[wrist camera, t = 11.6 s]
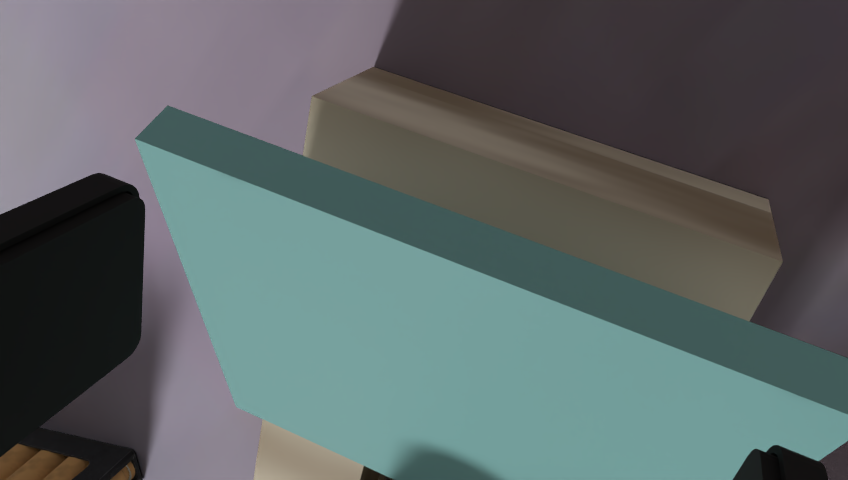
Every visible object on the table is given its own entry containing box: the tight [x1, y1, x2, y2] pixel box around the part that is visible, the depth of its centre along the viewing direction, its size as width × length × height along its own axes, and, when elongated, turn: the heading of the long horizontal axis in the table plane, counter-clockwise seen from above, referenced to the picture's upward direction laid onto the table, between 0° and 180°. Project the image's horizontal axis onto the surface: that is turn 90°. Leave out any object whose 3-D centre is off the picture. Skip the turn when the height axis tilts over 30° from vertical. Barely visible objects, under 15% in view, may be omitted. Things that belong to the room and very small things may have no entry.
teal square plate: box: [135, 106, 848, 480], centre depth 17 cm, size 12×13×1 cm
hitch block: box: [254, 67, 783, 480], centre depth 23 cm, size 18×12×4 cm, turn 167°
